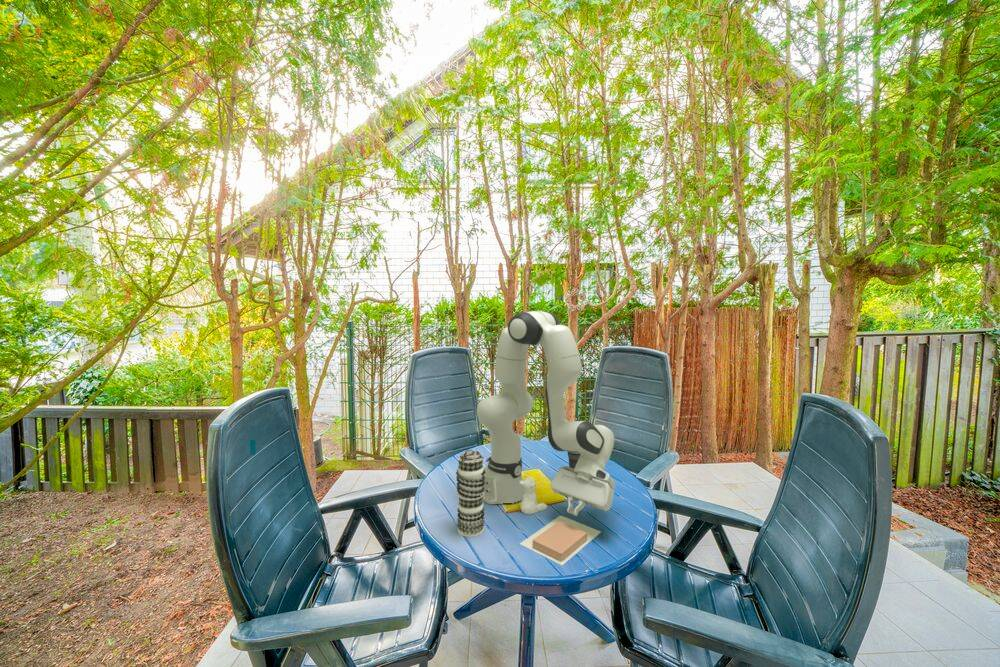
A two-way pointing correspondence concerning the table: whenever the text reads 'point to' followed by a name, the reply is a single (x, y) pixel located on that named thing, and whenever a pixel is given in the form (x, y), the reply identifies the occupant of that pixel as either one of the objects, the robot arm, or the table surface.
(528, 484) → the seated beast figurine
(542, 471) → the table surface
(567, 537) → the tile
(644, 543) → the table surface
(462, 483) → the stacked ring tower
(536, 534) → the mat
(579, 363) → the robot arm
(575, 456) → the beverage cup
